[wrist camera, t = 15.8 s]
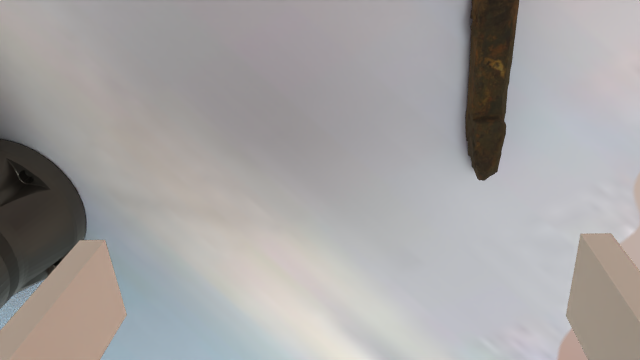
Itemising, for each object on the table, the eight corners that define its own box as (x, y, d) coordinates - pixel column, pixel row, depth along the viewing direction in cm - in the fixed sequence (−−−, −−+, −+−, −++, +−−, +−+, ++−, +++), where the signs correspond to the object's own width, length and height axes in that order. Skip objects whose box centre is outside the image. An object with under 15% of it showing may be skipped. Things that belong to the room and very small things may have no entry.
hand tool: (468, -64, 39) (479, -61, 35) (523, -64, 39) (541, -61, 35) (443, 166, 48) (450, 190, 44) (489, 168, 48) (499, 192, 44)
